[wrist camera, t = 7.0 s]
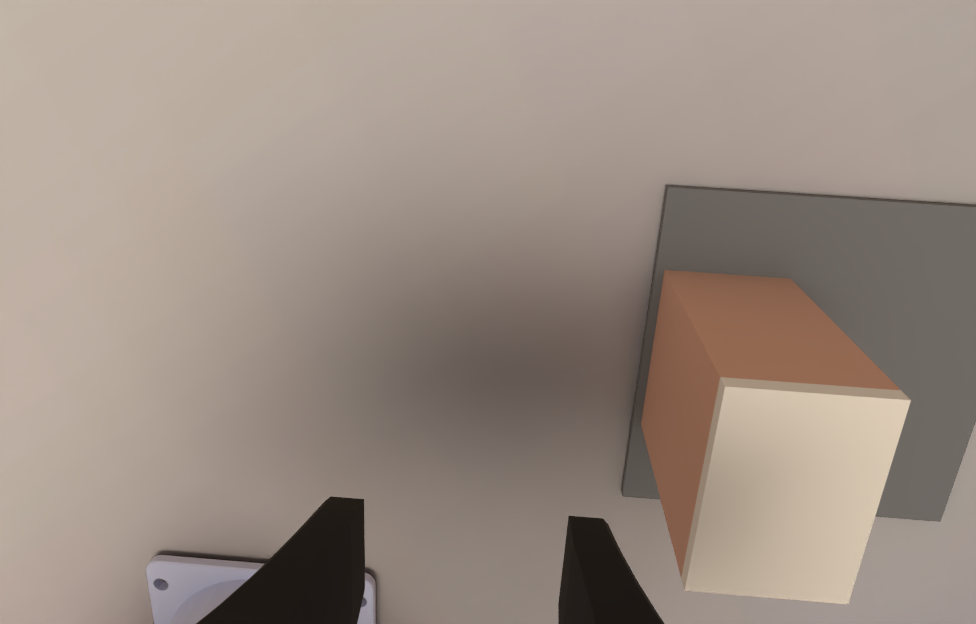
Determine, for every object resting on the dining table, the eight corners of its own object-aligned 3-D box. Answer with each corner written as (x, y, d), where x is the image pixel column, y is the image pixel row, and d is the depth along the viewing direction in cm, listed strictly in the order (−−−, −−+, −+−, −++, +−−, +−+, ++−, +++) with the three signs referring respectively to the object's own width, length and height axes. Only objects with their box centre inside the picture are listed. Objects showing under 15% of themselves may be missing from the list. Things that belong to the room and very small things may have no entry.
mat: (935, 515, 23) (940, 521, 23) (621, 490, 24) (622, 496, 23) (1041, 209, 19) (1048, 212, 19) (665, 185, 20) (668, 187, 20)
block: (756, 433, 22) (847, 604, 16) (641, 424, 22) (684, 590, 16) (790, 278, 20) (910, 400, 14) (664, 269, 20) (725, 386, 14)
